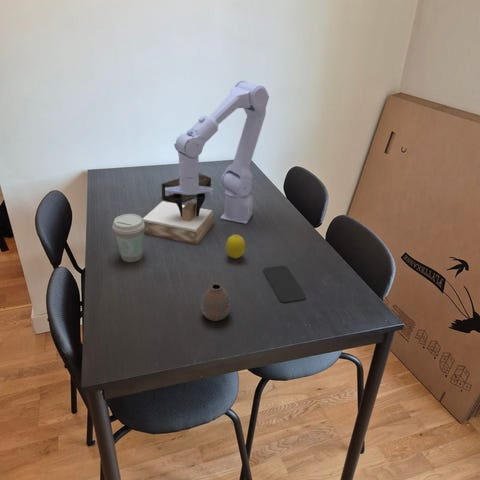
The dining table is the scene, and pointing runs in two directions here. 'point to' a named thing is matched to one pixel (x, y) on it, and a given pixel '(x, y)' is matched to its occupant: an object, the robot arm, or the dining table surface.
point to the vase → (215, 303)
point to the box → (179, 231)
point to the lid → (178, 216)
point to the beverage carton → (202, 182)
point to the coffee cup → (129, 236)
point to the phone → (284, 284)
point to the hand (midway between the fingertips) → (189, 215)
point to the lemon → (235, 246)
